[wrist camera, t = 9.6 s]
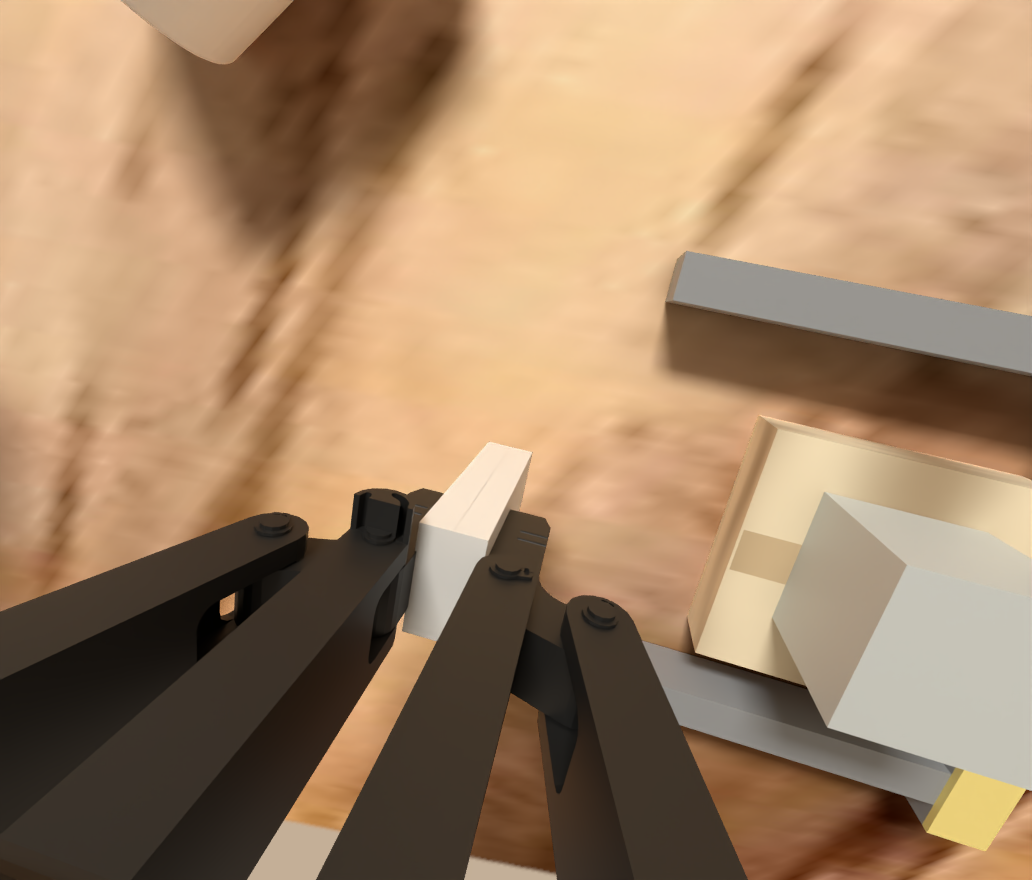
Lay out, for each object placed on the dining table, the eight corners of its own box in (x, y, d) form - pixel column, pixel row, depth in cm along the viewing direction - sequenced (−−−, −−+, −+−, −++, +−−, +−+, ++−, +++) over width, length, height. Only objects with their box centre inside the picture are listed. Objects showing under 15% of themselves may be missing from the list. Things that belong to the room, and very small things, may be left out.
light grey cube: (771, 617, 18) (826, 727, 13) (824, 491, 17) (907, 564, 12) (919, 659, 17) (1033, 791, 13) (987, 532, 16) (1145, 627, 11)
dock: (564, 667, 23) (557, 713, 20) (685, 229, 18) (697, 215, 15) (938, 782, 21) (985, 851, 18) (1204, 325, 15) (1327, 327, 13)
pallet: (685, 607, 22) (695, 652, 19) (754, 411, 19) (778, 429, 16) (903, 671, 21) (950, 728, 18) (1009, 470, 18) (1081, 500, 15)
